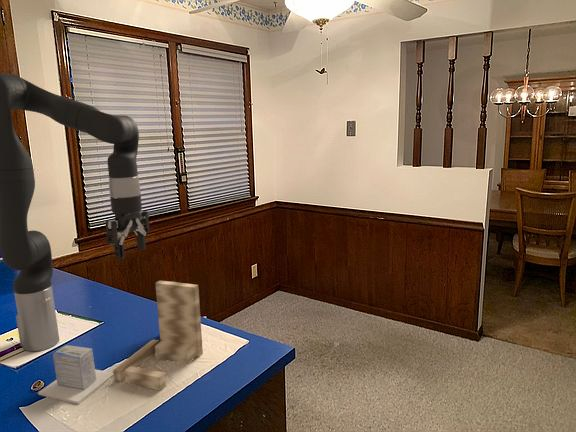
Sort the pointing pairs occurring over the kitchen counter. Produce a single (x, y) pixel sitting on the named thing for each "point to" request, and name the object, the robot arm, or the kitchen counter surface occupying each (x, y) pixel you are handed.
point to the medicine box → (74, 367)
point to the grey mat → (75, 389)
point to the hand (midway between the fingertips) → (131, 253)
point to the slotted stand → (168, 335)
